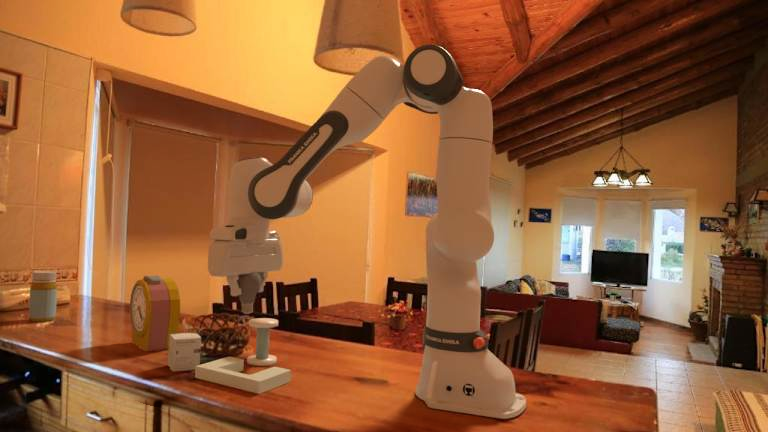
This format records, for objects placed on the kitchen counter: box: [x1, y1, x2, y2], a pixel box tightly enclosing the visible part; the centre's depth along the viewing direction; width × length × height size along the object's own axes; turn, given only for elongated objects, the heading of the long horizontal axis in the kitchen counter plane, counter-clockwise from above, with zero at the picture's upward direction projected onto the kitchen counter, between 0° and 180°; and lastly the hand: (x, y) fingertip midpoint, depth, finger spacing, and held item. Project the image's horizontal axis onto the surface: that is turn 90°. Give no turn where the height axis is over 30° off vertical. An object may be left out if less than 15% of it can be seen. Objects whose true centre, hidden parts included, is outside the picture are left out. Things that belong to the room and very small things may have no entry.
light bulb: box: [236, 272, 261, 315], centre depth 118 cm, size 6×6×10 cm
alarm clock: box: [129, 275, 181, 352], centre depth 141 cm, size 15×8×18 cm, turn 42°
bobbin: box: [246, 317, 279, 367], centre depth 130 cm, size 7×7×10 cm
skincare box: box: [167, 332, 202, 373], centre depth 122 cm, size 6×6×7 cm
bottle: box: [28, 270, 58, 323], centre depth 164 cm, size 7×7×15 cm
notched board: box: [194, 356, 292, 395], centre depth 115 cm, size 18×10×2 cm, turn 62°
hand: (247, 293), depth 118 cm, fingers closed on light bulb, 6 cm apart
